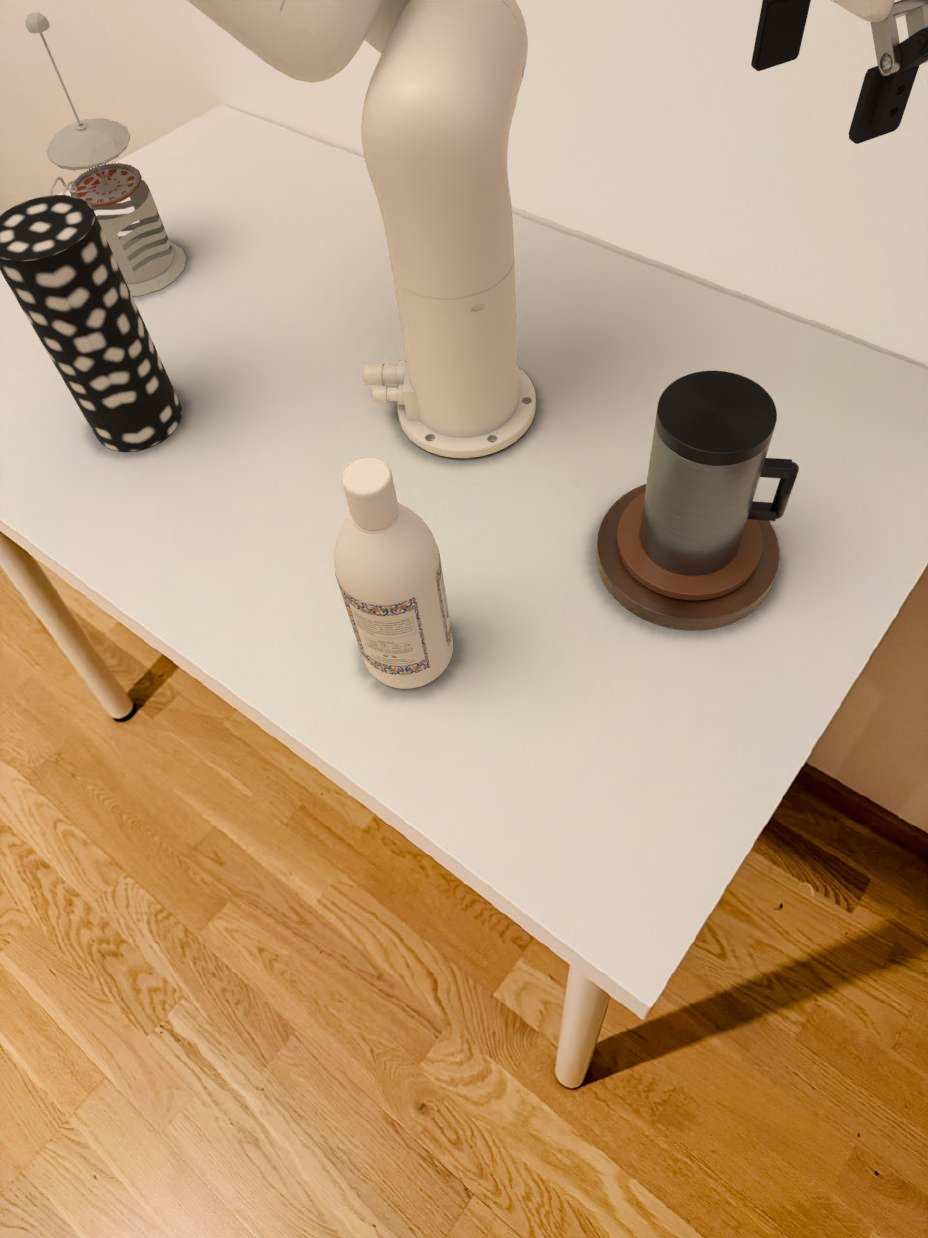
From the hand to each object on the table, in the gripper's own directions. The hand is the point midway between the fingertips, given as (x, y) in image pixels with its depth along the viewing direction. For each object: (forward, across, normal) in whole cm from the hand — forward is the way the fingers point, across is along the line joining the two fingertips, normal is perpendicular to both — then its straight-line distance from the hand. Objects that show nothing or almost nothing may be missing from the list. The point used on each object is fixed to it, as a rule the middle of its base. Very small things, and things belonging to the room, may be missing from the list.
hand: (821, 97), depth 55 cm
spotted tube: (+28, +28, +48) cm, 62 cm away
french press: (+28, +50, +43) cm, 72 cm away
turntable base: (+28, -10, +11) cm, 32 cm away
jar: (+27, -10, +11) cm, 30 cm away
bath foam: (+28, -8, +34) cm, 45 cm away
